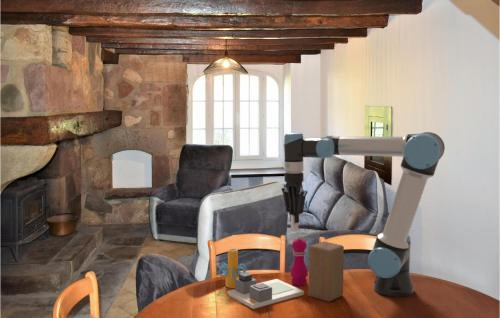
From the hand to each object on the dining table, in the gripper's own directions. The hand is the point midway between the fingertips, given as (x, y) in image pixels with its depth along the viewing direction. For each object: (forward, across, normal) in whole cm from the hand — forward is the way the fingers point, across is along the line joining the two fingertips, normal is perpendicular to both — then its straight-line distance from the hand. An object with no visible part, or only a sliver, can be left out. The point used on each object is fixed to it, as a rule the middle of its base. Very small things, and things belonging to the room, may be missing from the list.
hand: (294, 230), depth 205 cm
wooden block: (+24, +15, +2) cm, 28 cm away
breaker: (+19, -5, -21) cm, 29 cm away
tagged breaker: (+21, +5, -21) cm, 31 cm away
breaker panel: (+23, 0, -15) cm, 27 cm away
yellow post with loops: (+23, -16, -20) cm, 34 cm away
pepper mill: (+23, -2, +4) cm, 24 cm away
